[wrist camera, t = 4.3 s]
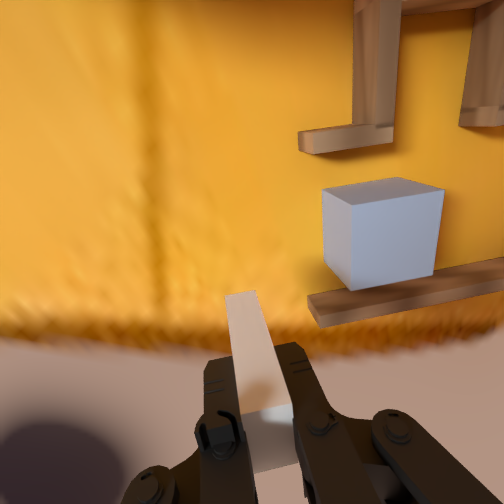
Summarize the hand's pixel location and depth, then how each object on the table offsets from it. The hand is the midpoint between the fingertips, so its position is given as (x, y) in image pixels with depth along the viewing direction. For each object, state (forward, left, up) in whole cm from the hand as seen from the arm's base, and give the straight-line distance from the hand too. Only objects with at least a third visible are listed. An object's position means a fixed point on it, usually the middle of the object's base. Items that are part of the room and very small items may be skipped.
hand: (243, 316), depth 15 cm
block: (+11, 0, -9) cm, 14 cm away
